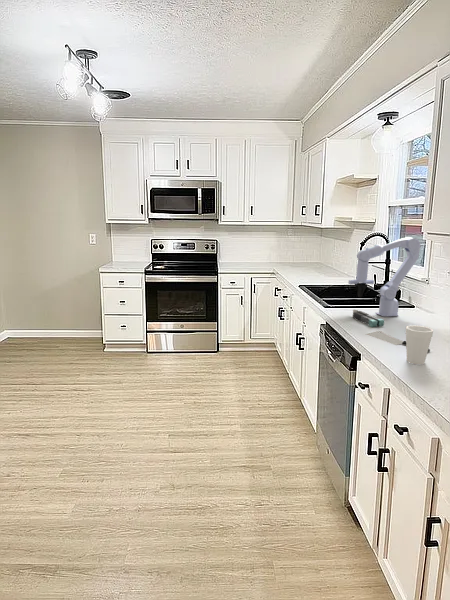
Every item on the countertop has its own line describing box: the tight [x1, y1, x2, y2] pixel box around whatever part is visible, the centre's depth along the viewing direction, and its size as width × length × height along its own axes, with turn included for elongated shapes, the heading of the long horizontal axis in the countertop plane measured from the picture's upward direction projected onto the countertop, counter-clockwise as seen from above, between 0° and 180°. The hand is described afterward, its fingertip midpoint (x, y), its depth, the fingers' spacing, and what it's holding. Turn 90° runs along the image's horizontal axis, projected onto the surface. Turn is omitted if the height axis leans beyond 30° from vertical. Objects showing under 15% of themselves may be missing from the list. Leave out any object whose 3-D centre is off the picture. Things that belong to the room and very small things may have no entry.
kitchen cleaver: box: [365, 330, 431, 354], centre depth 201 cm, size 31×2×10 cm
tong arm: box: [352, 309, 385, 327], centre depth 237 cm, size 22×4×3 cm, turn 16°
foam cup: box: [405, 325, 434, 365], centre depth 174 cm, size 10×9×13 cm
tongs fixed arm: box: [352, 312, 378, 328], centre depth 235 cm, size 19×3×3 cm, turn 15°
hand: (359, 297), depth 253 cm, fingers closed
